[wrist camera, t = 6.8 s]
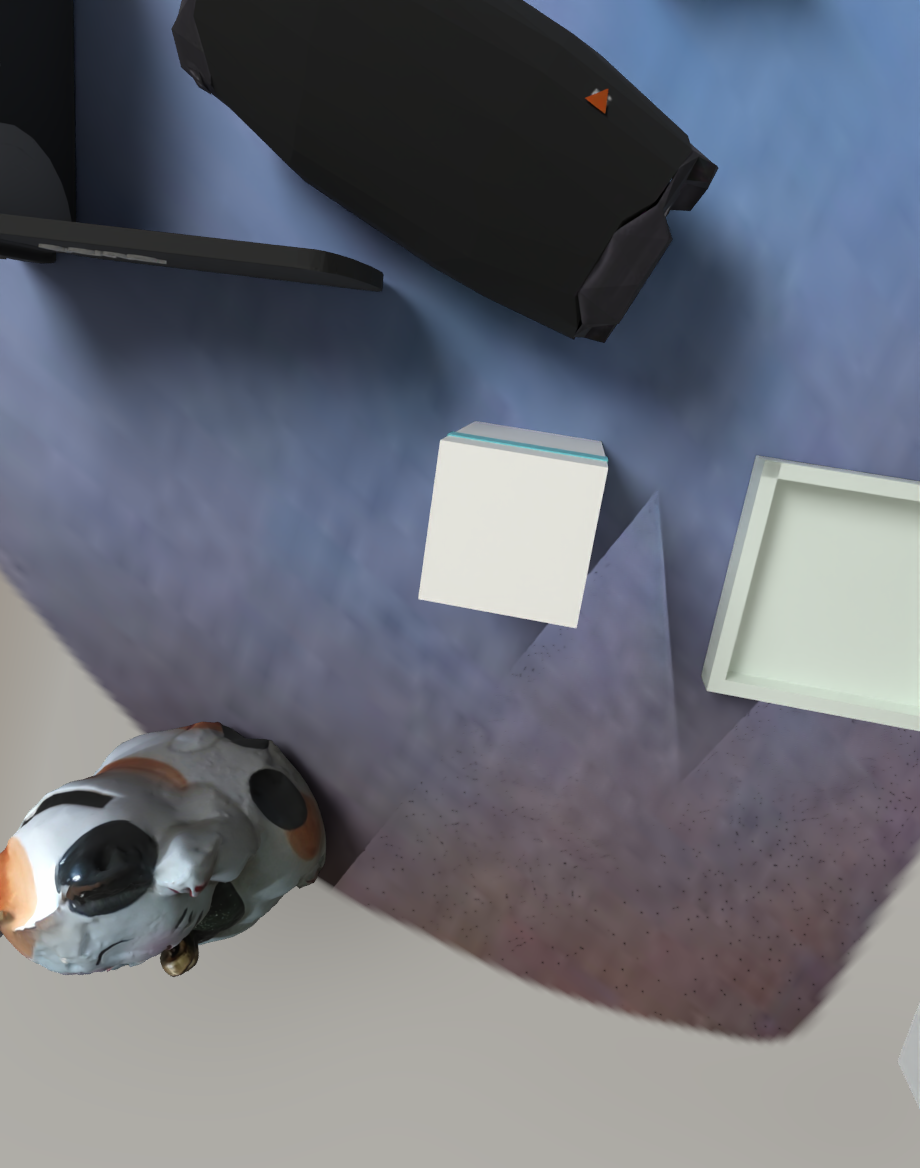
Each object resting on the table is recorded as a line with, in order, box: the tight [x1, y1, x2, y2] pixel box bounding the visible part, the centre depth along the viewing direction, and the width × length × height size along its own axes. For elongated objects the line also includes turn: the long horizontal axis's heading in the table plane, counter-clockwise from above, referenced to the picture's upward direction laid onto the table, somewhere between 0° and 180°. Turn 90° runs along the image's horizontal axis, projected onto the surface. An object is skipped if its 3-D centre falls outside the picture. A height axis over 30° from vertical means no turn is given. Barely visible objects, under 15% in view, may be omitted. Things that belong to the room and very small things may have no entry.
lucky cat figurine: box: [0, 722, 326, 977], centre depth 40 cm, size 15×12×14 cm
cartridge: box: [418, 421, 608, 628], centre depth 34 cm, size 6×6×10 cm
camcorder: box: [0, 0, 383, 291], centre depth 31 cm, size 20×18×10 cm
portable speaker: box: [172, 0, 718, 343], centre depth 31 cm, size 9×9×20 cm
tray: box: [701, 455, 920, 731], centre depth 37 cm, size 11×11×2 cm
